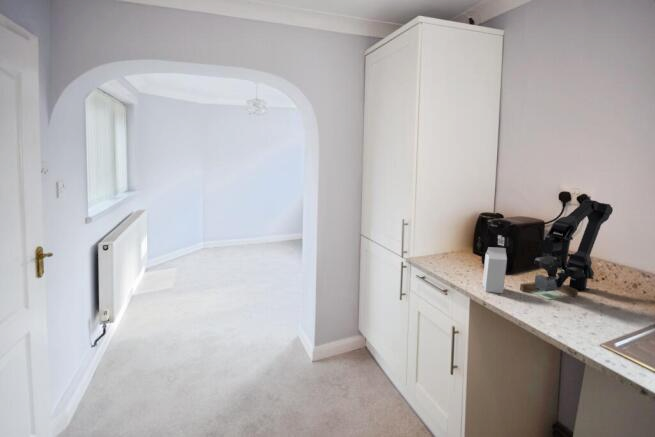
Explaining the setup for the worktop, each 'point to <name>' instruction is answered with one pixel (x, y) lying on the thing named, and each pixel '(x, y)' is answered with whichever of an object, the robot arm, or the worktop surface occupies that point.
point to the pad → (547, 294)
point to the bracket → (547, 283)
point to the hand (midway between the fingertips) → (555, 286)
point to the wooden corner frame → (565, 290)
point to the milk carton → (494, 270)
